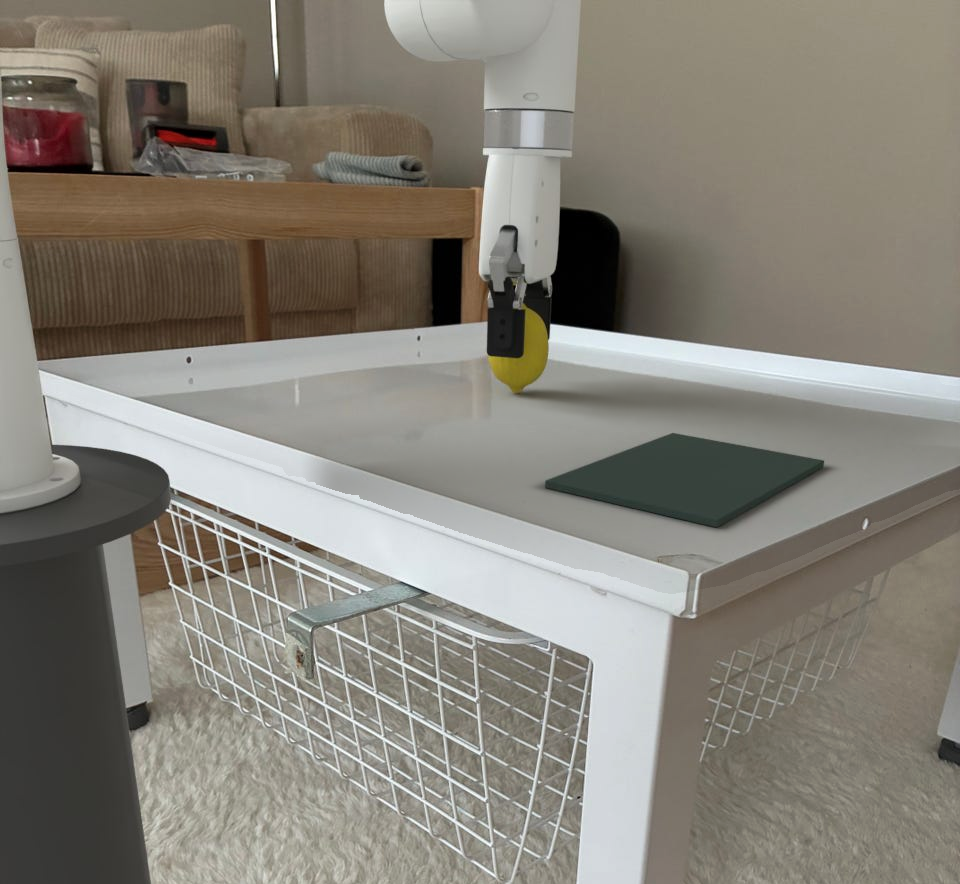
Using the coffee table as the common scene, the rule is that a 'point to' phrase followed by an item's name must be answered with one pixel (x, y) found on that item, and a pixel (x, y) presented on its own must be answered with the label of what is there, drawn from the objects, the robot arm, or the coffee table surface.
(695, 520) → the edge mat
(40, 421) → the robot arm
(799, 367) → the coffee table surface
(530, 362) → the lemon
